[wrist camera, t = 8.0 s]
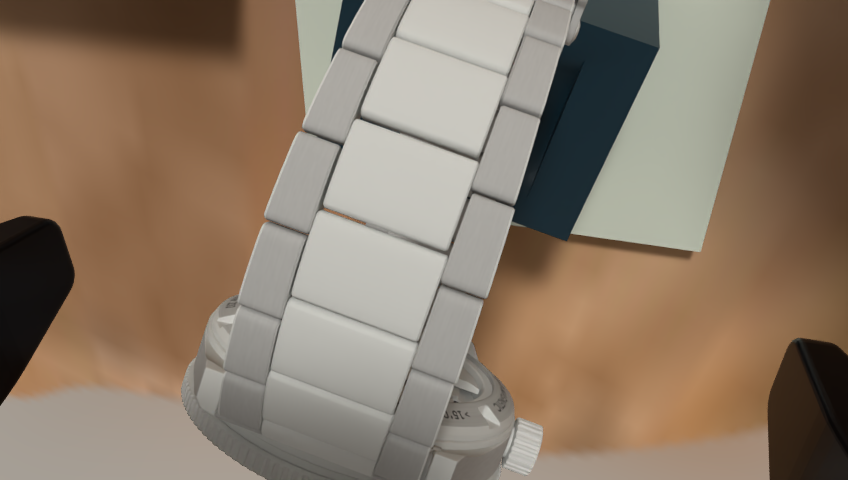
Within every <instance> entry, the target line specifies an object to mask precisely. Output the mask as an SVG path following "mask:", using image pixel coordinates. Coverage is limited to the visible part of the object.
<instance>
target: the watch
mask: <svg viewBox="0 0 848 480" xmlns="http://www.w3.org/2000/svg"><path fill="white" fill-rule="evenodd" d="M659 49H660V41H659V6H658V0H342V5H341V11H340V16H339V21H338V27H337V32H336V37H335V42H334V48H333V53H332V58H331V64H330V66H329V68H328V70H327V72H326V74H325V76H324V78H323V80H322V82H321V84H320V86H319V88H318V90H317V92H316V94H315V97H314V99H313V101H312V103H311V105H310V107H309V110H308V112H307V114H306V116H305V119H304V121H303V124H302V128H303V129H304V131H305V132H307V133H309V134H307V133H305V132H302V131H301V132H298V133H297V134H296V136H295V138H294V140H293V143H292V145H291V147H290V150H289V152H288V154H287V157H286V159H285V162H284V164H283V166H282V169H281V171H280V174H279V176H278V179H277V181H276V184H275V186H274V189H273V192H272V194H271V197H270V199H269V202H268V205H267V207H266V210H265V213H264V217H265V218H266V219H267V220H270V222H266V223H264V224H263V226H262V228H261V230H260V232H259V235H258V238H257V241H256V244H255V246H254V249H253V252H252V255H251V258H250V261H249V264H248V267H247V270H246V273H245V276H244V280H243V283H242V286H241V289H240V293H239V295H235V296H233V297H230V298H228V299H227V300H225V301H224V302H223V303H222V304H221V305H220V306H219V307H218V308H217V309H216V310H215V311H214V312H213V313H212V314H211V316H210V318H209V321H208V324H207V326H206V329H205V332H204V335H203V338H202V341H201V344H200V347H199V351H198V354H197V356H196V357H195V359H193V360H192V362H191V363H190V364H189V366H188V368H187V371H186V374H185V377H184V380H183V383H182V387H181V394H182V395H181V397H182V402H184V403H183V405H184V407H185V410H186V411H187V414H188V415H189V416H190V419H191V420H192V421H194V424H195V425H196V426H197V428H198V429H199V430H200V431H202V434H203V435H205V436H206V437H207V439H208V440H210V441H212V443H213V444H214V445H215V446H217V447H218V448H219V449H220V450H221V451H224V452H225V454H226V455H228V456H230V457H232V459H234V460H235V461H237V462H239V463H240V464H241V465H242V466H245V467H247V468H248V469H249V470H251V471H253V472H255V473H256V474H258V475H260V476H263V477H264V478H265V479H267V480H499V478H500V473H501V467H500V466H501V464H500V462H501V459H502V467H503V468H505V469H508V470H511V471H513V472H516V473H519V474H521V475H524V476H527V475H528V474H529V473H530V472H531V470H532V468H533V466H534V464H535V462H536V459H537V457H538V454H539V450H540V447H541V443H542V437H543V427H542V426H541V425H538V424H535V423H533V422H530V421H527V420H525V419H522V418H517V419H516V421H515V416H514V404H513V400H512V397H511V395H510V393H509V391H508V390H507V389H506V387H505V386H504V385H503V384H502V382H501V381H500V380H499V379H498V378H497V377H496V376H494V375H493V374H492V373H491V372H490V371H489V370H488V369H487V368H486V367H485V366H484V365H483V364H482V363H480V362H479V361H478V357H477V354H476V351H475V347H474V344H473V343H472V342H471V340H472V337H473V334H474V331H475V328H476V325H477V321H478V318H479V315H480V312H481V309H482V306H483V300H482V299H481V298H483V299H486V298H487V297H488V294H489V291H490V288H491V285H492V282H493V279H494V275H495V272H496V269H497V266H498V263H499V260H500V256H501V253H502V250H503V247H504V244H505V241H506V237H507V234H508V231H509V228H510V224H511V221H512V222H515V223H517V224H520V225H523V226H526V227H528V228H531V229H534V230H537V231H540V232H542V233H545V234H548V235H551V236H553V237H556V238H559V239H562V240H565V241H567V240H568V238H569V235H570V233H571V231H572V229H573V227H574V225H575V223H576V221H577V219H578V217H579V215H580V213H581V211H582V208H583V206H584V204H585V202H586V200H587V198H588V196H589V194H590V192H591V190H592V188H593V186H594V184H595V181H596V179H597V177H598V175H599V173H600V171H601V169H602V167H603V165H604V163H605V161H606V159H607V157H608V154H609V152H610V150H611V148H612V146H613V144H614V142H615V140H616V138H617V136H618V134H619V132H620V130H621V128H622V125H623V123H624V121H625V119H626V117H627V115H628V113H629V111H630V109H631V107H632V105H633V103H634V101H635V98H636V96H637V94H638V92H639V90H640V88H641V86H642V84H643V82H644V80H645V78H646V76H647V74H648V71H649V69H650V67H651V65H652V63H653V61H654V59H655V57H656V55H657V53H658V51H659ZM310 134H312V135H310ZM313 135H315V136H313ZM316 136H317V137H316ZM324 208H327V209H330V210H333V211H335V212H338V213H341V214H344V215H346V216H349V217H352V218H355V219H357V220H360V221H363V222H366V226H365V225H363V224H360V223H357V222H354V221H352V220H349V219H346V218H343V217H341V216H338V215H335V214H332V213H330V212H327V211H324V210H323V209H324ZM271 221H273V222H275V223H273V222H271ZM276 223H278V224H276ZM279 224H281V225H279ZM282 225H284V226H286V227H284V226H282ZM287 227H289V228H287ZM290 228H292V229H290ZM293 229H295V230H297V231H295V230H293ZM298 231H300V232H298ZM301 232H303V233H305V234H303V233H301ZM306 234H309V236H308V235H306ZM451 241H452V242H454V244H452V243H451ZM441 284H442V285H441ZM438 287H440V288H438ZM465 292H467V293H469V294H467V293H465ZM470 294H472V295H470ZM473 295H475V296H473ZM476 296H478V297H480V298H478V297H476Z"/></svg>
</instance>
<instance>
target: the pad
mask: <svg viewBox="0 0 848 480" xmlns="http://www.w3.org/2000/svg"><path fill="white" fill-rule="evenodd" d="M295 2H296V13H297V24H298V35H299V46H300V57H301V68H302V79H303V90H304V100H305V111H306V114H307V112H308V110H309V107H310V105H311V103H312V101H313V99H314V97H315V94H316V92H317V90H318V88H319V86H320V84H321V82H322V80H323V78H324V76H325V74H326V72H327V70H328V68H329V66H330V64H331V58H332V53H333V48H334V42H335V37H336V32H337V27H338V21H339V16H340V11H341V5H342V0H295ZM769 3H770V0H658V6H659V41H660V49H659V51H658V53H657V55H656V57H655V59H654V61H653V63H652V65H651V67H650V69H649V71H648V74H647V76H646V78H645V80H644V82H643V84H642V86H641V88H640V90H639V92H638V94H637V96H636V98H635V101H634V103H633V105H632V107H631V109H630V111H629V113H628V115H627V117H626V119H625V121H624V123H623V125H622V128H621V130H620V132H619V134H618V136H617V138H616V140H615V142H614V144H613V146H612V148H611V150H610V152H609V154H608V157H607V159H606V161H605V163H604V165H603V167H602V169H601V171H600V173H599V175H598V177H597V179H596V181H595V184H594V186H593V188H592V190H591V192H590V194H589V196H588V198H587V200H586V202H585V204H584V206H583V208H582V211H581V213H580V215H579V217H578V219H577V221H576V223H575V225H574V227H573V229H572V231H571V233H570V234H577V235H584V236H591V237H598V238H605V239H612V240H619V241H626V242H633V243H640V244H647V245H654V246H661V247H668V248H675V249H682V250H689V251H696V252H701V248H702V245H703V241H704V238H705V234H706V230H707V227H708V223H709V220H710V216H711V212H712V209H713V205H714V202H715V198H716V194H717V191H718V187H719V184H720V180H721V176H722V173H723V169H724V165H725V162H726V158H727V155H728V151H729V147H730V144H731V140H732V137H733V133H734V129H735V126H736V122H737V119H738V115H739V111H740V108H741V104H742V101H743V97H744V93H745V90H746V86H747V83H748V79H749V75H750V72H751V68H752V64H753V61H754V57H755V54H756V50H757V46H758V43H759V39H760V36H761V32H762V28H763V25H764V21H765V18H766V14H767V10H768V7H769ZM308 134H309V133H308ZM310 135H312V134H310ZM313 136H315V135H313ZM316 137H317V136H316ZM510 225H514V226H521V227H526V226H523V225H520V224H517V223H515V222H512V221H511V224H510Z"/></svg>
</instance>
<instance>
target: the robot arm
mask: <svg viewBox="0 0 848 480" xmlns="http://www.w3.org/2000/svg"><path fill="white" fill-rule="evenodd" d="M74 277H75V272H74V267H73V264H72V261H71V258H70V255H69V252H68V249H67V246H66V243H65V240H64V237H63V234H62V231H61V228H60V227H59V225H58V224H57V223H56V222H55V221H52V220H50V219H45V218H39V217H33V216H21V217H17V218H15V219H12V220H9V221H6V222H3V223H0V406H1V404H2V403H3V401H4V400H5V399H6V397H7V396H8V394H9V393H10V391H11V390H12V388H13V387H14V386H15V384H16V383H17V381H18V379H19V378H20V376H21V374H22V373H23V371H24V370H25V368H26V366H27V365H28V363H29V361H30V359H31V358H32V356H33V354H34V353H35V351H36V349H37V347H38V346H39V344H40V342H41V340H42V339H43V337H44V335H45V334H46V332H47V330H48V328H49V327H50V325H51V323H52V321H53V320H54V318H55V316H56V315H57V313H58V311H59V309H60V308H61V306H62V304H63V302H64V301H65V299H66V297H67V296H68V294H69V292H70V290H71V288H72V286H73V283H74ZM768 440H769V469H770V470H769V472H770V480H848V355H847V354H846V353H845V352H844V351H843V350H842V349H841V348H839V347H838V346H837V345H835V344H833V343H830V342H824V341H817V340H811V339H805V338H797V339H795V340H793V341H792V342H791V343H790V344H789V346H788V348H787V350H786V353H785V355H784V358H783V360H782V363H781V365H780V368H779V370H778V373H777V375H776V378H775V380H774V383H773V386H772V388H771V391H770V395H769V400H768Z"/></svg>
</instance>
